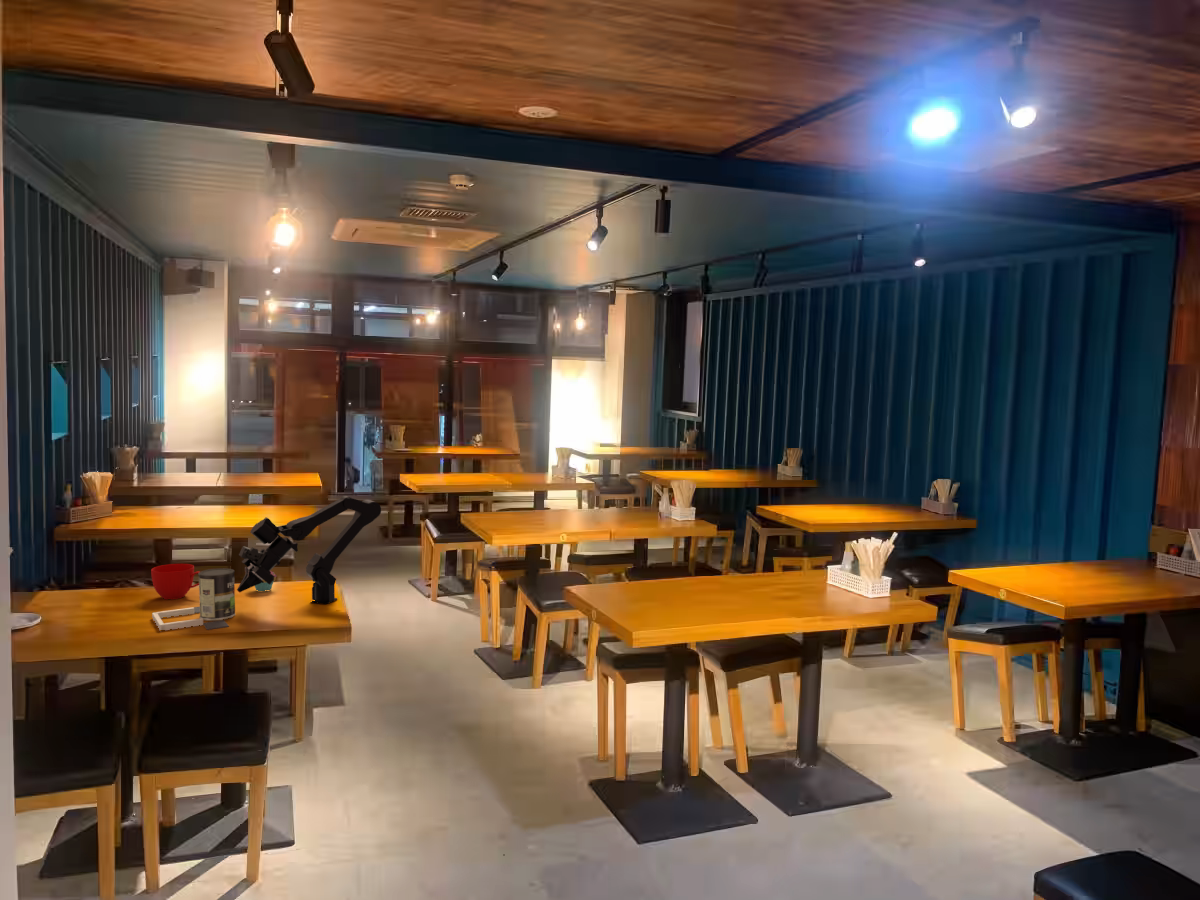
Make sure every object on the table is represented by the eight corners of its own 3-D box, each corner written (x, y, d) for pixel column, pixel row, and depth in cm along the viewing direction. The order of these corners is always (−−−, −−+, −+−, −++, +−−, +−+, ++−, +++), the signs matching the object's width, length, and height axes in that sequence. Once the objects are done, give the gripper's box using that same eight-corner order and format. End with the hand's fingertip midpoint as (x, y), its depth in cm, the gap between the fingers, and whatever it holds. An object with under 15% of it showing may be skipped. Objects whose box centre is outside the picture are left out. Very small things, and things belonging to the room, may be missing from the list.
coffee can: (238, 611, 276) (237, 567, 275) (231, 620, 266) (230, 575, 265) (203, 612, 274) (202, 568, 273) (195, 621, 264) (194, 576, 263)
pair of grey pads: (210, 605, 281) (210, 605, 281) (228, 626, 259) (228, 625, 259) (190, 608, 278) (190, 607, 278) (207, 629, 256) (207, 628, 256)
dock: (193, 612, 273) (193, 607, 273) (203, 624, 261) (203, 619, 260) (152, 618, 267) (152, 612, 266) (160, 631, 254) (159, 625, 254)
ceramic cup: (195, 602, 285) (194, 572, 284) (144, 601, 285) (143, 571, 284) (213, 592, 298) (212, 564, 297) (164, 591, 298) (163, 563, 297)
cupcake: (280, 588, 306) (280, 554, 305) (269, 594, 297) (268, 559, 296) (257, 587, 306) (256, 553, 305) (245, 593, 298) (244, 558, 297)
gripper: (248, 532, 282) (212, 569, 277) (262, 542, 267) (225, 581, 262) (273, 554, 287) (238, 590, 282) (289, 564, 272) (252, 603, 267)
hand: (238, 591), depth 273 cm, fingers closed
